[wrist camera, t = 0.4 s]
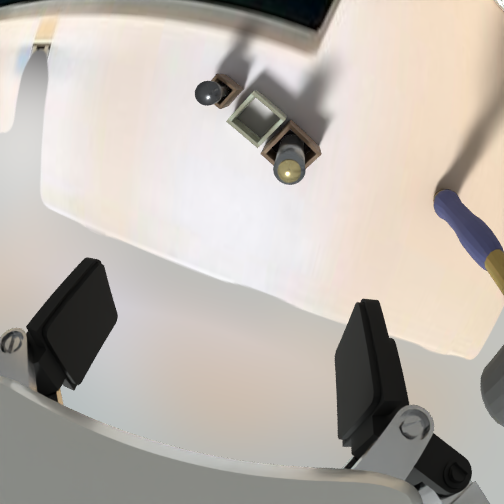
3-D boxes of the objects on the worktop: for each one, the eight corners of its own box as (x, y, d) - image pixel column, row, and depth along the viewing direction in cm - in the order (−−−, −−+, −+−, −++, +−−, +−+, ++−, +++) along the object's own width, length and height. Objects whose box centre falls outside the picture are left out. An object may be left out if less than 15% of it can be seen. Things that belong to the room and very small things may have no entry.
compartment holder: (230, 68, 29) (222, 67, 26) (319, 146, 33) (321, 154, 29) (206, 97, 31) (195, 99, 28) (292, 171, 35) (291, 182, 32)
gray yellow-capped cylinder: (291, 129, 32) (288, 149, 23) (308, 145, 33) (312, 172, 24) (275, 145, 33) (266, 171, 25) (292, 161, 34) (289, 193, 25)
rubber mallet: (437, 147, 29) (612, 313, 5) (477, 169, 29) (626, 325, 5) (402, 229, 36) (484, 441, 12) (442, 243, 36) (528, 429, 12)
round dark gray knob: (221, 76, 28) (205, 76, 23) (238, 89, 28) (225, 91, 23) (208, 92, 29) (190, 95, 24) (224, 105, 30) (209, 110, 25)
